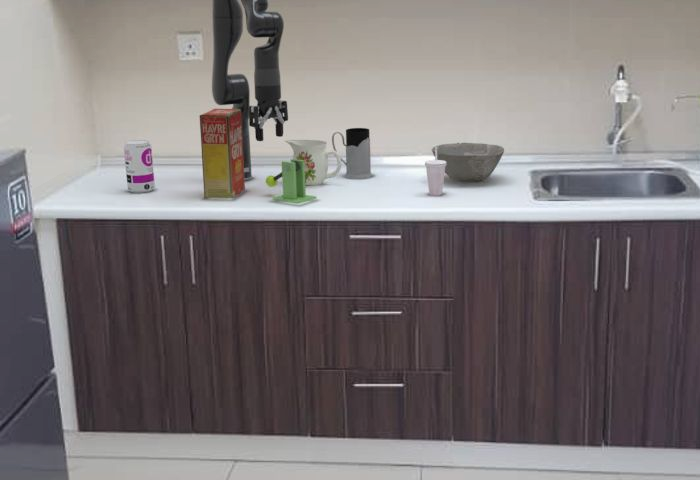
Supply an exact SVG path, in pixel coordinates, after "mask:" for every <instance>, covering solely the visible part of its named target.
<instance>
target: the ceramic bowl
mask: <svg viewBox="0 0 700 480" xmlns="http://www.w3.org/2000/svg"><path fill="white" fill-rule="evenodd" d="M435 147H437V160H443V161H446V166H445V173H444V174H445V175H446V176H448V177H449V178H450V179H452V180H453V181H458V182H471V183H472V182H473V183H474V182H475V183H478V182H483V181H485V180H487V179H488V178H489V177H490V176H491V175H492V173H494V171H495V169H496V168H497V166H498V164H499V163H500V162H501V159H502V157H503V155H504V153H505V148H504V146H501V145H498V144H489V143H481V142H480V143H479V142H478V143H477V142H475V143H474V142H456V143H444V144H442V143H441V144H439V145H435V146H433V147H432V148H431V152H432V155H433V156H434V157H435Z"/></svg>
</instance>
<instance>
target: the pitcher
mask: <svg viewBox="0 0 700 480" xmlns="http://www.w3.org/2000/svg"><path fill="white" fill-rule="evenodd" d="M284 142H285V143H287V144H288V145H289V146H290V148H291V149H292V152H293V156H292V159H297V160H304V165H305V186H319V185H323V184H324V182H325V181H326V180H327V179H328V180H329V179H331V178H334V177H336V176H337V175H338V174H339V173H340V171H341V169H342V161H341V158H342V157H341V155H340V153H339V151H337V150H336V151H337V152H336V151H334V149H333V150H328V151H327V150H326V149H327V141H324V140H320V139H319V140H318V139H317V140H316V139H285V140H284ZM331 155H332V156H334V157H335V158H336V162H337V165H336V168H335V170H333V172H331V173H328V170H329V156H331ZM340 157H341V158H340Z"/></svg>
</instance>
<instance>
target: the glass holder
mask: <svg viewBox="0 0 700 480" xmlns="http://www.w3.org/2000/svg"><path fill="white" fill-rule="evenodd" d="M336 134H339V135H340V136H341V141H342V145H343V146H344V147H345V159H343V158H342V157H341V156H340V158H341V163H343V164H344V165H345V169H346V171H345V172H346V173H345V175H344V177H345V178H347V179H353V180H364V179H370V178H372V177H373V174H372V172H371V171H372V166H371V165H372V163H371V138H370V128H366V127H353V128H352V127H351V128H347V129H345V137H344V135H343V133H342V132H340V131H336V132H334V133H332V136H331V143H332V144H331V145H332V149H333V151H336V152H338V151H337V149H336V145H335V135H336Z"/></svg>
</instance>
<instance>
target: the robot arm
mask: <svg viewBox="0 0 700 480" xmlns="http://www.w3.org/2000/svg"><path fill="white" fill-rule="evenodd" d="M240 2H241V3H240ZM241 4H242V6H241ZM242 7H243V8H244V11H243V8H242ZM211 8H212V11H211V12H212V16H211V17H212V40H213V41H212V43H213V51H212V52H213V58H212V71H211V72H212V73H211V74H212V75H211V95H212V98H213V101H214V102H215V104H216V105H218V106H228V105H229V106H231V105H232V107H231V109H241V121H242V140H243V160H244V178H245V182H246V181H251V180H252V179H253V175H252V157H251V155H252V154H251V142H250V140H251V137H250V127H252V128H254V133H255V140H256V141H257V142H264V128H263V127H264V124H265V123H266V122H267V121H268V120H270V119H273V121H274V122H275V123H274V125H275V136H276V137H278V138H281V137H283V136H284V124H285V122H288V120H289V112H288V102H287V100H283V99H282V87H281V85H282V84H281V83H282V82H281V72H280V47H281V42H282V37H283V33H284V29H285V23H284V21H285V20H284V18H283V16H282V14H281V13H279V12H278V11H267V10H268V8H269V1H268V0H240V1H239V0H212V7H211ZM244 13H245V22H246V25H245V26H246V31H247V33H248V34H249V35H250V36H251V37H253V38H254V39H255V38H256V39H257V38H258V39H260V38H267V42H266V43H264V44H262V45H259V46H256V47H255V48H254V50H253V56H254V57H253V58H254V59H253V61H254V72H253V73H254V74H253V79H254V80H253V83H254V99H255V100H256V102H257V104H256V105H251V103H250V100H251V99H250V97H251V96H250V92H251V91H250V84H249V81H248V78H247V76H246V75H245V74H244V73H232V74H228V73H229V72H228V71H229V64H230V60H231V57H232V55H233V53H234V51H235V49H236V48H237V46H238V45H239V42H240V40H241V38H242V36H243V32H244Z"/></svg>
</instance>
